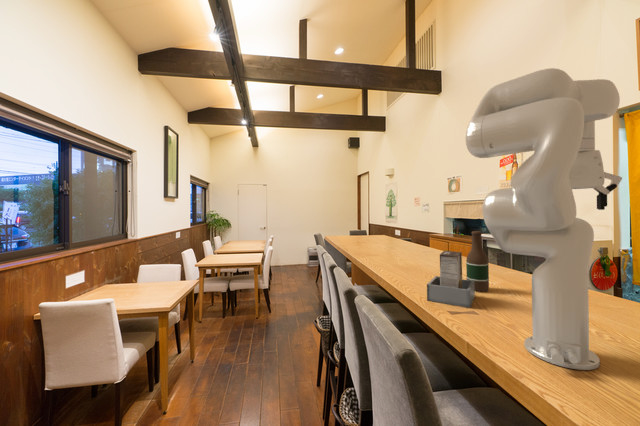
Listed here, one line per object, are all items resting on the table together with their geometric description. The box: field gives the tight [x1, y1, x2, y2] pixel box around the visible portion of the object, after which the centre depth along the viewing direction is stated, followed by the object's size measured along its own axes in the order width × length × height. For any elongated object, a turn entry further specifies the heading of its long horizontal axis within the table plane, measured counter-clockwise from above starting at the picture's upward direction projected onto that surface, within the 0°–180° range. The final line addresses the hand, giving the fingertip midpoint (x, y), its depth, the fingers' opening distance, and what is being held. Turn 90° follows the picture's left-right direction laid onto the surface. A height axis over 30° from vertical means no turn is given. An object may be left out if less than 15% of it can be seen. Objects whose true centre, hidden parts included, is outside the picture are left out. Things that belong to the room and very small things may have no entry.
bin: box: [426, 275, 476, 309], centre depth 98 cm, size 14×14×6 cm
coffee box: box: [439, 250, 463, 289], centre depth 97 cm, size 9×6×16 cm
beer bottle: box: [465, 230, 490, 293], centre depth 107 cm, size 8×8×24 cm
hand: (576, 209), depth 73 cm, fingers open, 9 cm apart
